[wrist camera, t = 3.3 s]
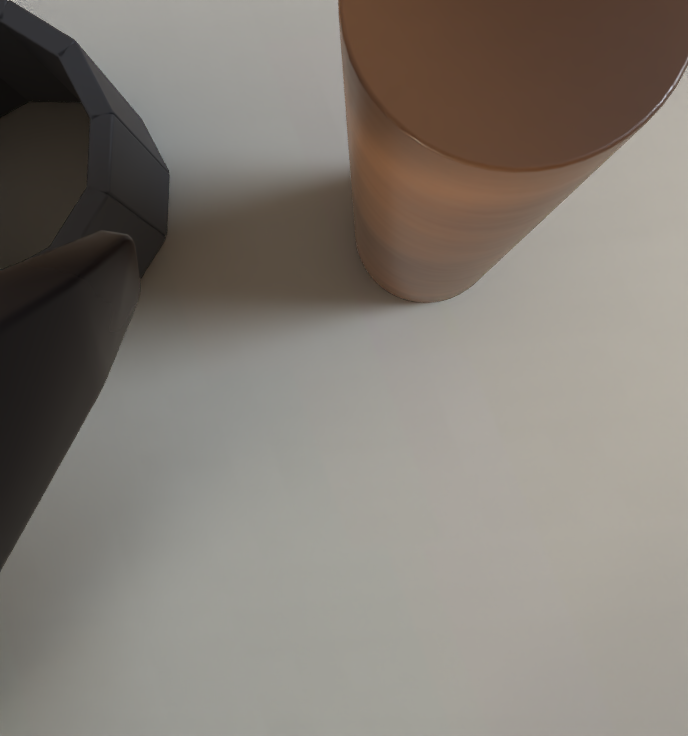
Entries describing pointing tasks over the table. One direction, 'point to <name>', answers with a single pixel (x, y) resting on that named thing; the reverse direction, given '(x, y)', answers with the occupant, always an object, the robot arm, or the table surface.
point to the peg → (488, 121)
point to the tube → (106, 135)
